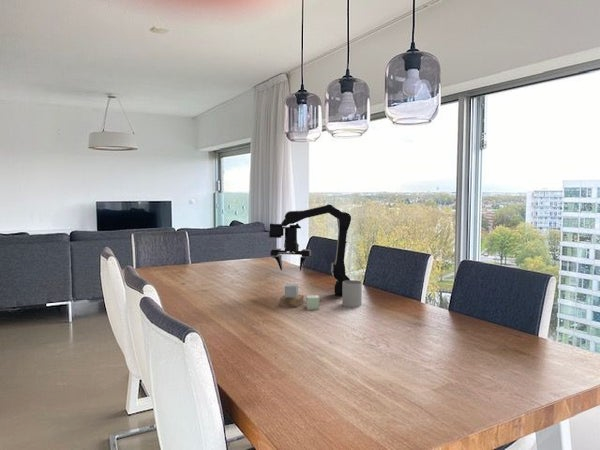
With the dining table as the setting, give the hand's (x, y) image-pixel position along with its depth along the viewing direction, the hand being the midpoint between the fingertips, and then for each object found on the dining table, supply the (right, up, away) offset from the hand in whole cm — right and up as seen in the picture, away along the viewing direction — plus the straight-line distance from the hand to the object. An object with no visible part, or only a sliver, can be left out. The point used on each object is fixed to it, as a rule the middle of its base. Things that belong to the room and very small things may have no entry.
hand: (290, 270), depth 223 cm
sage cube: (+10, -14, -22) cm, 28 cm away
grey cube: (+1, -10, -16) cm, 19 cm away
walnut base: (+1, -14, -16) cm, 21 cm away
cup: (+27, -14, -16) cm, 34 cm away
